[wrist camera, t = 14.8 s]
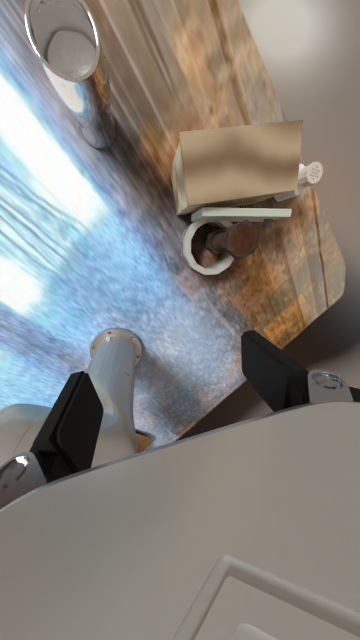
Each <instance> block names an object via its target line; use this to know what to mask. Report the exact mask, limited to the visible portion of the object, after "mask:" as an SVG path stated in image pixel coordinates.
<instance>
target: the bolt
mask: <svg viewBox="0 0 360 640" xmlns="http://www.w3.org/2000/svg"><path fill="white" fill-rule="evenodd" d="M258 238H259V232H258V230H257V228H256V227H255V226H254V225H253V224H252V223H251V222H250V221H249V220H247V219H246V220H243V221H241V222H238V223H236V224H234V225H232V226H229V227H227V229H226V232H225V231H224V230H223V229H218V230H215V231H213V232H211V233H209V234H208V236H207V237H206V239H205V243H204V246H205V247H206V248H207V249H208V250H209V251H211V252H212V253H213V254H219V253H221V252H224V251H227V252H228V253H229V254H230V255H231V256H232V257H233V258H234V259H240V258H243V257H245V256H248V255H250V254H252V253H253V252H254V251H255V249H256V246H257V243H258Z"/></svg>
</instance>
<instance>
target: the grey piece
mask: <svg viewBox="0 0 360 640" xmlns="http://www.w3.org/2000/svg"><path fill="white" fill-rule="evenodd" d="M291 212H292V209H269V208H218V207H202V208H201V209H199V210H198V211H196V212H195V213H193V214H192V215H191V222H193V223H192V224H191V225H190V226H189V228H188V230H187V232H186V234H185V236H184V238H183V254H184V257H185V259H186V261H187V262H188V264H189V266H190V267H191V268H193V269H194V270H196V271H198V272H200V273H201V274H204V275H211V274H219V273H220V272H222V271H223V270H225V269H226V268H228V267H229V266H230V265H231V263H232V261H233V260H234V258H233V257H232V256H231V255H230V254H229V253H227V254H226V256H225V258H224V260H223V261H222V262H221V263H220V264H218V265H216V266H215V267H213V268H203V267H202V266H200V265H198V264H197V263H196V262H195V260H194V258H193V256H192V254H191V239H192V237H193V235H194V233H195V232H196V230H197V228H199V227H200V226H202V225H203V224H205V223H216V224H217V225H219V226H220V227H222V228H223V229H224V230H225V232H226V229H227V227H229V226H232V225H233V224H232V223H231V222H241V221H243V220H246V219H247V220H249V221H250V222H263V227H268V226H272V221H273V220H277V219H282V218H287V217H291Z"/></svg>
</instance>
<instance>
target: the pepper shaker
mask: <svg viewBox="0 0 360 640" xmlns="http://www.w3.org/2000/svg"><path fill="white" fill-rule="evenodd" d="M322 172H323V168H322V165H321V164H320V163H319V162H313V163H311V164H310V165H308V166H304V165H303V164H299V174H298V186H297V190H295V191H291V192H284V193H281V194H279V195H276V196H273V197H274V198H275V200H276V201H277V202H280V201H283V200H286V199H289V198H292V197H295V196H297V195H299V194H300V193H301V192H302V191H303V190H304V189H305V187H307V186H310V185H313V184H315V183H317V182H318V181H319V180H320V178H321V176H322Z"/></svg>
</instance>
